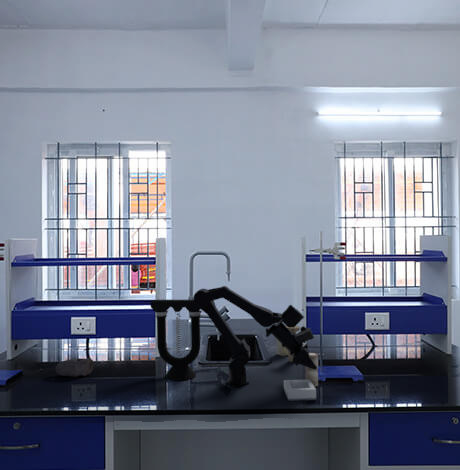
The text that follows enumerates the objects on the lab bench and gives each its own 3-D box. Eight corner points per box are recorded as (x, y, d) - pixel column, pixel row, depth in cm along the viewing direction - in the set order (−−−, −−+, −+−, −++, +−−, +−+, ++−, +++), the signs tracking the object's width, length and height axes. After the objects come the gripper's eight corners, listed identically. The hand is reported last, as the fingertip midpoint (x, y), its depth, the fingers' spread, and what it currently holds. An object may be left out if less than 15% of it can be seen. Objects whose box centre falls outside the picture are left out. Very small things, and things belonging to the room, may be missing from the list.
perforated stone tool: (52, 378, 165) (52, 360, 165) (59, 373, 170) (59, 356, 170) (89, 378, 164) (88, 361, 164) (94, 374, 169) (94, 357, 169)
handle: (284, 359, 183) (284, 325, 183) (299, 359, 183) (298, 325, 183) (286, 363, 179) (285, 328, 179) (301, 362, 178) (300, 328, 178)
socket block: (288, 400, 139) (288, 390, 139) (283, 390, 148) (283, 380, 148) (316, 399, 139) (316, 389, 139) (310, 389, 148) (309, 379, 148)
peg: (303, 384, 153) (303, 354, 153) (311, 381, 156) (311, 352, 156) (312, 387, 150) (312, 357, 150) (320, 384, 152) (320, 355, 152)
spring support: (205, 371, 170) (204, 298, 170) (200, 381, 158) (198, 303, 158) (156, 369, 172) (155, 297, 172) (147, 380, 160) (146, 302, 160)
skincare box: (282, 356, 188) (282, 329, 188) (276, 354, 192) (275, 327, 192) (292, 354, 192) (292, 327, 192) (286, 351, 196) (286, 326, 195)
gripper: (301, 327, 144) (334, 359, 143) (298, 316, 162) (328, 344, 161) (279, 349, 145) (311, 381, 144) (278, 336, 163) (307, 364, 162)
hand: (315, 366), depth 153 cm, fingers closed on peg, 4 cm apart
